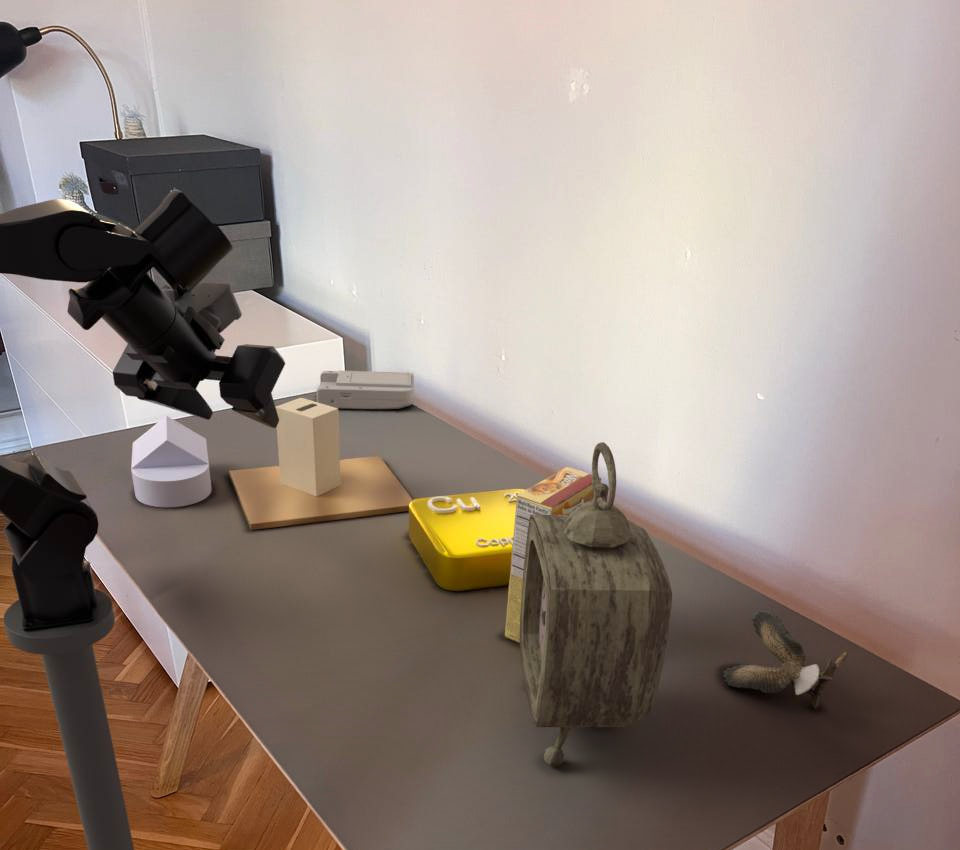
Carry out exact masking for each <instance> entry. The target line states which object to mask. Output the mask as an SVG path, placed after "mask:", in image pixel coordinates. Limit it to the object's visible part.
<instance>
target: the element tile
mask: <svg viewBox="0 0 960 850" xmlns="http://www.w3.org/2000/svg"><path fill="white" fill-rule="evenodd" d="M525 490H526V489H523V488H509V489H501V490H489V491H479V492H478V491H477V492H468V493H458V494H449V495H448V494H447V495H437V496H427V497H419V498H414V499H412V500H413V501H412V502H410V505H409V511H408V537H409V539H410V541H411V543H412V545H413V546H414V547H415V549H416V552H417V553H418V554H419V556H420V558H421V560H422V561H423V563H424V565H425V566H426V568H427V570H428V572H429V573H430V575H431V577H432V578H433V580H434V582H435V583H436V585H438V586H439V587H440V588H442V589H443V590H446V591H450V592H464V591H471V590H480V589H486V588H487V589H488V588H494V587H504V586H509V581H510V570H511V557H512V546H513V534H514V523H515V512H516V499H517V495H518V494H520V493H522V492H523V491H525Z"/></svg>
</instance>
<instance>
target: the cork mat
mask: <svg viewBox="0 0 960 850" xmlns="http://www.w3.org/2000/svg"><path fill="white" fill-rule="evenodd" d="M388 466H389V465H387V463H385V461H384V460H383V459H382V457H381V456H380V455H376V456H364V457H355V458H346V459H340V479H341V485H340V486H338V487H336V488H334V489H332V490H330V491H328V492H325V493H323V494H321V495H319V496H317V497H316V496H313V495H311V494H308V493H305V492H302V491H299V490H296V489H293V488H291V487H288V486H285V485H282V484H281V482H280V467H279V465H275V466H273V465H272V466H265V467H263V466H262V467H254V468H244V469H235V470H229V471H228V476H229V479H230V481H231V484H232V486H233V489H234V491H235V493H236V496H237V498H238V501H239V504H240V506H241V509H242V511H243V513H244V516H245V518H246V521H247V523H248V526H249V528H250V530H251V531H256V530H263V529H270V528H271V529H272V528H279V527H286V526H289V527H290V526H296V525H304V524H305V525H306V524H313V523H321V522H330V521H337V520H346V519H355V518H363V517H370V516H378V515H379V516H380V515H386V514H396V513H403V512H409V505H410V502H412V501H413V500H414V499H413V498H412V497H411V496H410V495H409V493H408V491H407V490H406V489H405V487H403V485H402V484H401V482H400V481H399V480H398V479H397V477H396V475H395V474H394V473H393V472H392V471H391V469H390V467H388Z"/></svg>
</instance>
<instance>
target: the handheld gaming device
mask: <svg viewBox="0 0 960 850" xmlns="http://www.w3.org/2000/svg"><path fill="white" fill-rule="evenodd" d="M319 378H320V379H319V381H320V383H319V385H318V386H317V388H316V391H315V392H316V402H318V403H321V404H324V405H328V406H331V407H335V408H338V409H344V410H345V409H347V410H394V409H396V410H401V409H403V408H406V407H410V406H411V405H413V404H414V400H415V399H414V398H415V397H414V396H415V375H414V373H413V372H399V371H394V372H393V371H366V370H323V371H321V373H320V377H319Z"/></svg>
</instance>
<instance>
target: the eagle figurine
mask: <svg viewBox="0 0 960 850" xmlns="http://www.w3.org/2000/svg"><path fill="white" fill-rule="evenodd" d="M751 621H752V627H754V632H755V633H756V634H757V636H758V637H759V638H760V639H761V641H762V642H763V644H764V646H765V648H766V649H767V651H768V652H770V653H771V655H773V656H774V657H775V658H776V659H777V660H779V661H780V663H781V664H782V665H780V666H778V667H777V666H765V665H759V664H758V665H756V664H750V665H747V664H740V665H734V666H733V667H727V668H726V670H724V671H723V673H724V674H722V675H723V678H725V679H724V681H725V682H727V683H726V684H727V685H728V686H730V687H733V688H737V689H742V688H744V689H747V690H748V689H752V690H756V691H759V690H760V691H761V692H762V693H764V694H772V693H773V694H778V693H781V692H782V691H783V689H786V688H787V686H791V685H792V686H794V691H795V692H794V693H795V695H796V696H800V695H802V694H807V695H809V696H810V700H811V705H812V707H813V708H814V709H815V710H816V709H818V707H819V704H820V700H821V697H824V696H825V692H826V689H827V688H828V686H829V685H830V683H831V681H833V679H834V677H835V676H836V674H837V673H838V671H839V670H840V668H841V666H842V665H843V663H844V662H845V661H846V658H847V656H848V654H849V652H848V651H845V652H843V653H842V654H841V655H840V656H839V657H838V658H837V660H836V661H834V660H833V658H829V660H828V662H827V664H826V667H825V669H824V671H822V672H820V667H819V664H817V663H814V664H810V665H804V664H805V661H806V657H807V654H806V653H805V650H804V648H803V646H802V644H801V643H800V641H799V640H796V639H794V638H793V637H792V636H791V634H790V633H789V630H788V629H786V627H785V624H783V621H782V618H781V617H779V615H777V614H776V615H775V613H772V612H771V611H770V612H769V611H766V610H764V609H762V610H761V611H760V610H759V611H757V612H756V613H755V614H754V616H753V617H752V618H751ZM816 683H817V684H816ZM813 686H815V687H814V689H812V688H813Z"/></svg>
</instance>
